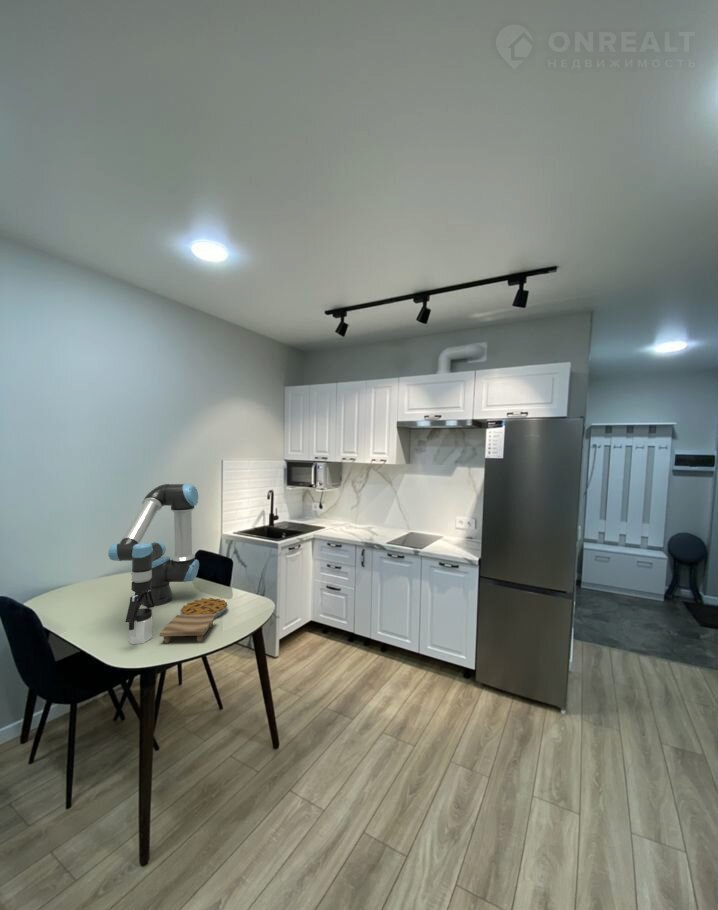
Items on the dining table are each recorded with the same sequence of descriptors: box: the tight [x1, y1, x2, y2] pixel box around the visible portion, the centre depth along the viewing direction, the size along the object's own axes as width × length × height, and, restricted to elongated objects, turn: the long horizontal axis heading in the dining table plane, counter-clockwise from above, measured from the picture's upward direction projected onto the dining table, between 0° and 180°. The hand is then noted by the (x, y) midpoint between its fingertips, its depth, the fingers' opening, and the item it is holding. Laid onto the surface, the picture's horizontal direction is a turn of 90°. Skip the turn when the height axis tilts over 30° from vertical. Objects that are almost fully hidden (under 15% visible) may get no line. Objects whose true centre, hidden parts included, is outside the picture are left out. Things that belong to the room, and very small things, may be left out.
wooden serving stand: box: [158, 614, 216, 644], centre depth 165 cm, size 18×18×5 cm
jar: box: [128, 607, 153, 646], centre depth 160 cm, size 9×8×12 cm
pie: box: [179, 597, 228, 619], centre depth 187 cm, size 22×22×5 cm
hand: (140, 629), depth 160 cm, fingers open, 13 cm apart
